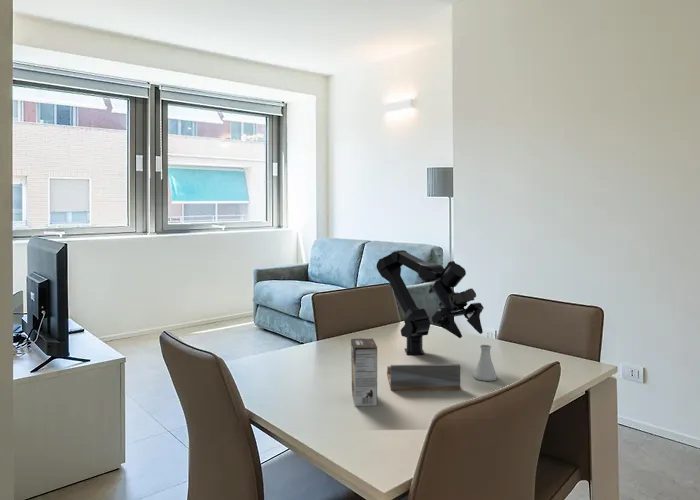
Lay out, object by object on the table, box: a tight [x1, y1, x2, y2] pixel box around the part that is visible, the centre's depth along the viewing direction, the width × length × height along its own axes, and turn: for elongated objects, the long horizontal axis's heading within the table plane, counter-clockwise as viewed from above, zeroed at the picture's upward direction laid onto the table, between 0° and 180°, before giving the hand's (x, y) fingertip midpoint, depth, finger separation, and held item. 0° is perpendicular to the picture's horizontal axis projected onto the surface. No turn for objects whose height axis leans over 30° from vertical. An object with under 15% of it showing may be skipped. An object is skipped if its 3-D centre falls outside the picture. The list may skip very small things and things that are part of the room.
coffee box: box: [350, 338, 378, 407], centre depth 143 cm, size 9×6×16 cm
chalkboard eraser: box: [386, 363, 461, 391], centre depth 157 cm, size 14×20×7 cm
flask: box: [472, 344, 498, 382], centre depth 161 cm, size 7×7×10 cm
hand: (471, 335), depth 165 cm, fingers open, 9 cm apart
